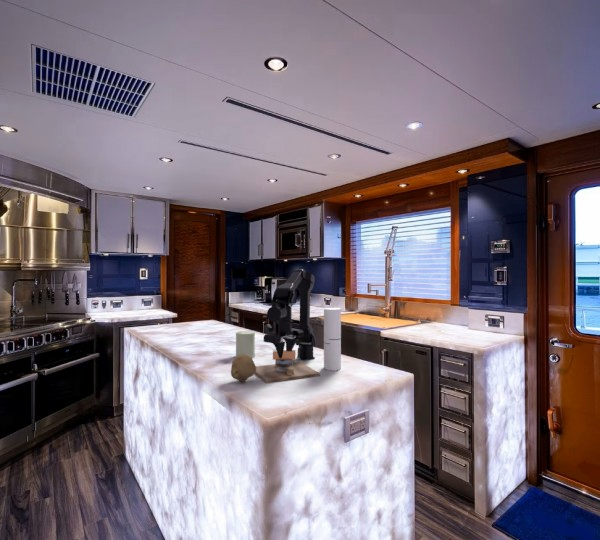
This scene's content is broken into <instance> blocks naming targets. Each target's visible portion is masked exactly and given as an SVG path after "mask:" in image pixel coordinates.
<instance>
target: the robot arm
mask: <svg viewBox="0 0 600 540" xmlns="http://www.w3.org/2000/svg"><path fill="white" fill-rule="evenodd" d="M315 279H316V278H315V276H314V274H312V273H311V272H309V271H306V270H305V269H299V268H298V269H293V271H292V274H291V275H290V276H289V278H288V279H286V281H285V283H283V284H280V285H278V286H277V287H276V288H275V290H274V292H273V296H272V298H271V302H270V305H271V307H269V308H268V309H267V312H266V317H267V318H268V320H269V321H270V322H273V323H274V324H272V325H271V324H270V323H267V324H264V326H263V331H264V333H265V334H264V336H263V343H264V342H265V343H269V344H272V345H273V346H274V347H275V350H277V353H278V356H279V358H282V355H283V351H284V350H294V349H293V348H294V347H295V346H298V348H297V358H298V359H299V360H302V361H306V360H314V359H316V357H315V356H314V347H315V346H317V339H316V337H315V334H314V328H313V327H312V325H311V323H310V322H311V314H310V313H311V312H310V311H311V292H312V290H313V288H314V285H315V281H316V280H315ZM296 290H298V291H299V324H298V325H297V327H295V328H292V325H293V324H294V323H295V322H294V320H292V307H293V302H294V300H295V299H294V298H295V297H296V293H295V291H296Z"/></svg>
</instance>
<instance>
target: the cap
mask: <svg viewBox="0 0 600 540" xmlns="http://www.w3.org/2000/svg"><path fill="white" fill-rule="evenodd" d="M272 360H274V364H275V365H276V366H279V367H288V366H292V365H293V362H294V360H296V350H294V349H292V350H286V349H284V351H283V355H282V358H279V356H278V353H277V350H276V349H273V350H272Z"/></svg>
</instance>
